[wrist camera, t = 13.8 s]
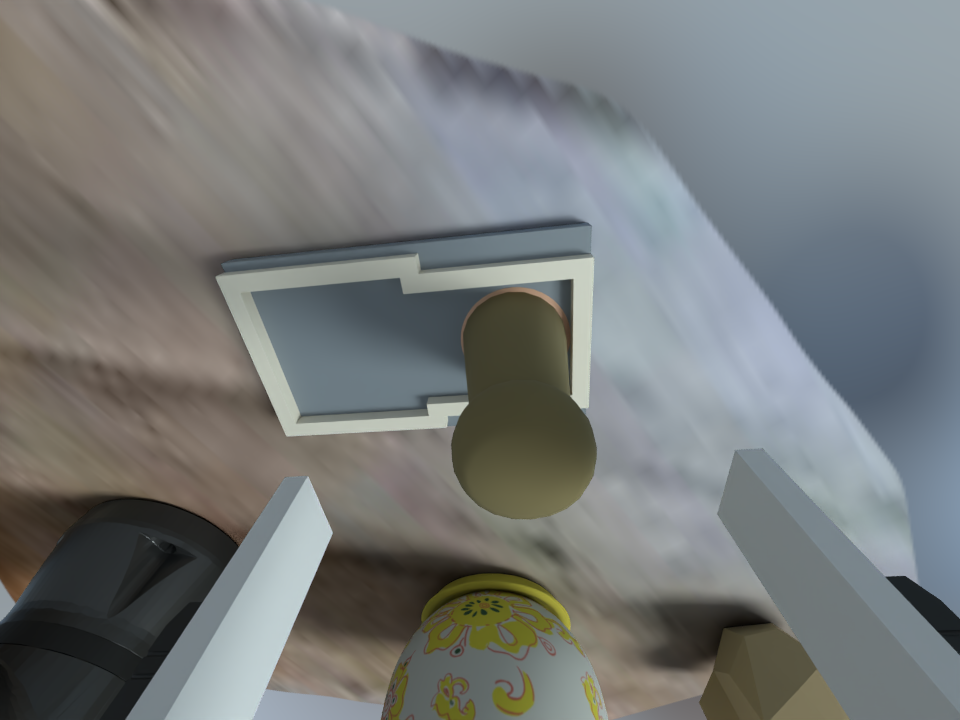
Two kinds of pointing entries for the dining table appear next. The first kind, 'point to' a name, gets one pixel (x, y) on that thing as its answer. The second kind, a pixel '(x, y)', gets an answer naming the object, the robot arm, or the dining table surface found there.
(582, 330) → the grey shallow tray
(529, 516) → the cork
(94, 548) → the robot arm
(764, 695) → the low-poly potato
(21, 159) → the dining table surface
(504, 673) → the flowerpot
